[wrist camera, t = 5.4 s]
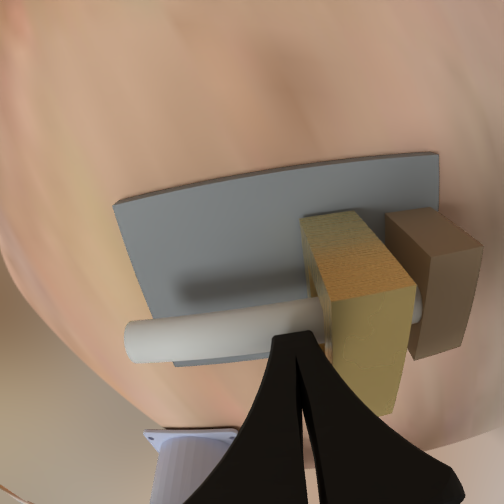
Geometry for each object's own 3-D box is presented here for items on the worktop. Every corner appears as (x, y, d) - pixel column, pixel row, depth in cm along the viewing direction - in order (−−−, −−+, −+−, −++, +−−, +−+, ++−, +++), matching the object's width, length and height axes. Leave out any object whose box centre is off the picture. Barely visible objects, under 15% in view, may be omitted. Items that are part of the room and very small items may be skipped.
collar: (353, 210, 13) (416, 284, 7) (355, 321, 15) (391, 413, 10) (298, 218, 13) (331, 301, 8) (310, 329, 16) (332, 427, 10)
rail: (430, 151, 13) (500, 179, 8) (419, 318, 17) (456, 378, 12) (118, 200, 14) (63, 248, 9) (177, 357, 18) (160, 427, 13)
